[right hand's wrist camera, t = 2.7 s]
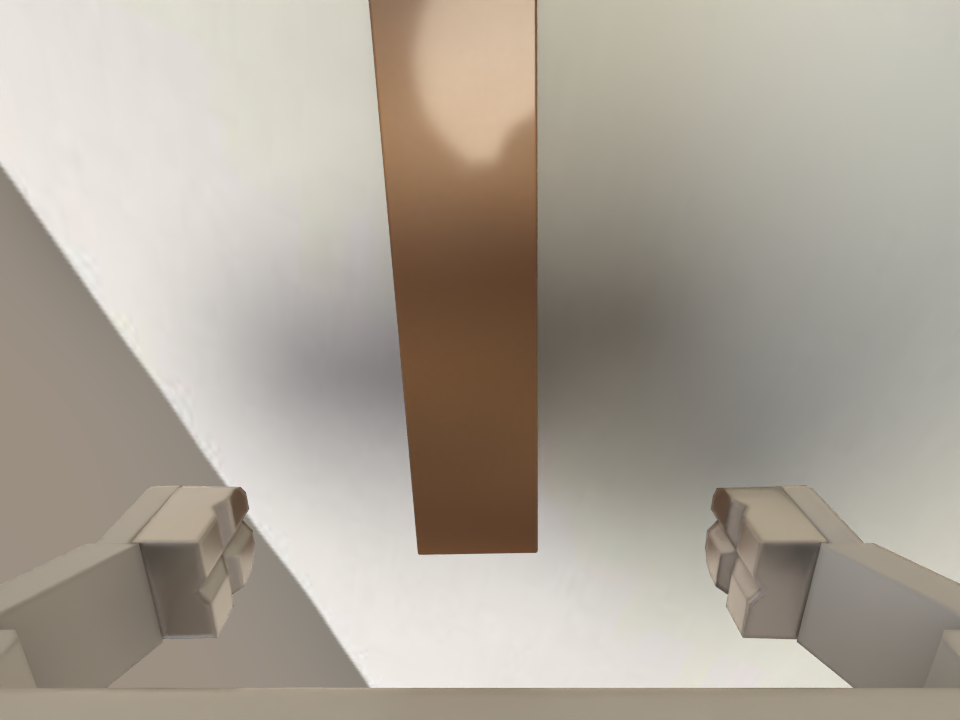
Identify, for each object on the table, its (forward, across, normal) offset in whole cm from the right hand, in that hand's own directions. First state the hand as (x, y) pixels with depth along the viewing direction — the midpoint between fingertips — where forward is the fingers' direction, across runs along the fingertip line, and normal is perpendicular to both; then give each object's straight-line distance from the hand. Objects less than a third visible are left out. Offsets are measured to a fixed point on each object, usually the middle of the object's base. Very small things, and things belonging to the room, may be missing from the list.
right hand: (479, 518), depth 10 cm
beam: (+15, +1, -20) cm, 25 cm away
